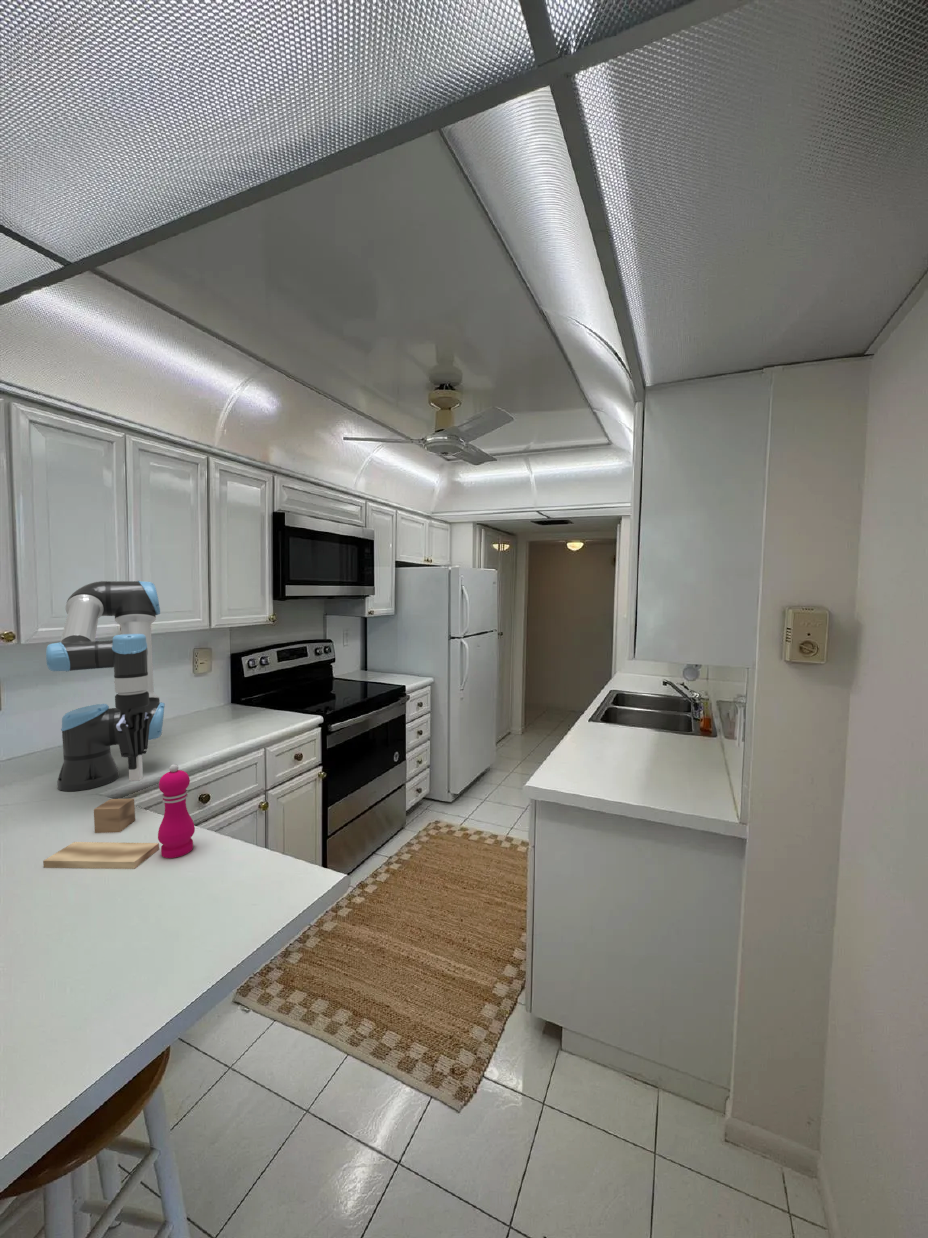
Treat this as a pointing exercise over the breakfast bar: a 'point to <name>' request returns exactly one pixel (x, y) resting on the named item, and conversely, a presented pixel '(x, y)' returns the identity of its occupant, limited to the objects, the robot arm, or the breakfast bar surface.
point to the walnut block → (114, 815)
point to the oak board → (101, 855)
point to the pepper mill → (175, 815)
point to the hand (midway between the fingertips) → (136, 779)
